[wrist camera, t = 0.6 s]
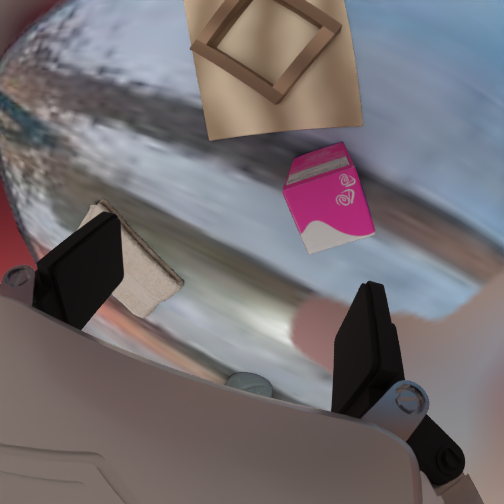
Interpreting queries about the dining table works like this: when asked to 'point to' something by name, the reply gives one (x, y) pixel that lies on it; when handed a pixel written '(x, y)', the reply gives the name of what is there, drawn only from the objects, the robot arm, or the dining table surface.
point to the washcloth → (139, 270)
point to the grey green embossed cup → (250, 383)
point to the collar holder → (273, 65)
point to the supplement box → (327, 199)
